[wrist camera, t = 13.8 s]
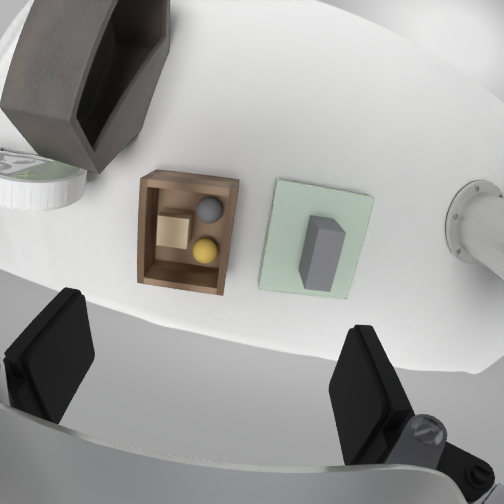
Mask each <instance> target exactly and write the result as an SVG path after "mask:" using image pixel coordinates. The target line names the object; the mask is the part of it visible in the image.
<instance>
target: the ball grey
mask: <svg viewBox="0 0 504 504" xmlns="http://www.w3.org/2000/svg"><path fill="white" fill-rule="evenodd" d="M196 212H197V216H198V217H199V219H200V220H201V221H203V222H205V223H209V224H210V223H215V222H217V221H218V220H219V219H220V218H221V216H222V214H223V206H222V204H221V202H220V201H219V200H218V199H216V198H214V197H206V198H203V199H202V200H201V201H200V202H199V203H198V205H197V209H196Z"/></svg>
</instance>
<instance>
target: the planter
mask: <svg viewBox="0 0 504 504" xmlns="http://www.w3.org/2000/svg"><path fill="white" fill-rule="evenodd" d="M169 18H170V0H34V3H33V5H32V7H31V9H30V12H29V14H28V17H27V19H26V21H25V24H24V27H23V29H22V32H21V34H20V37H19V40H18V43H17V46H16V48H15V51H14V54H13V58H12V61H11V64H10V67H9V71H8V74H7V78H6V81H5V85H4V89H3V93H2V97H1V101H0V108H1V109H2V111H3V112H4V113H5V114H6V116H7V117H8V118H9V120H10V121H11V122H12V123H13V125H14V126H15V127H16V128H17V130H18V131H19V132H20V133H21V134H22V136H23V137H24V138H25V139H26V140H27V142H28V143H29V144H30V145H31V146H32V148H33V149H34V150H35V151H36V152H37V153H38V155H39V156H42V157H45V158H49V159H52V160H55V161H59V162H62V163H65V164H68V165H72V166H75V167H78V168H81V169H85V170H88V171H91V172H94V173H97V174H100V173H101V172H102V171H103V169H104V168H105V167H106V166H107V165H108V164H109V163H110V162H111V161H112V160H113V159H114V157H115V156H116V155H117V154H118V153H119V152H120V151H121V150H122V149H123V148H124V147H125V146H126V145H127V144H128V143H129V142H130V141H131V140H132V139H133V138H134V137H135V136H136V135H137V134H138V133H139V132H140V130H141V128H142V125H143V122H144V119H145V116H146V113H147V110H148V107H149V104H150V101H151V98H152V95H153V93H154V90H155V87H156V84H157V81H158V79H159V76H160V73H161V71H162V68H163V66H164V63H165V60H166V58H167V55H168V53H169Z"/></svg>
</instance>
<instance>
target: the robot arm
mask: <svg viewBox="0 0 504 504" xmlns="http://www.w3.org/2000/svg"><path fill="white" fill-rule="evenodd" d="M446 238H447V242H448V246H449V248H450V250H451V251H452V253H453V254H454V255H455V256H456V257H457V258H459V259H460V260H462V261H464V262H467V263H476V262H479V261H480V262H481V263H482V264H484V265H485V266H486V267H488V268H489V269H490V270H491V271H493V272H494V273H495V274H497V275H498V276H499V277H500V278H502V279H503V280H504V195H503V193H502V192H501V190H500V189H499V188H498V187H497V186H496V185H494V184H492V183H490V182H488V181H482V180H479V181H474V182H472V183H469V184H468V185H466V186H465V187H464V188H463V189H462V190H461V191H460V192H459V193H458V194H457V196H456V197H455V199H454V200H453V202H452V205H451V207H450V209H449V212H448V216H447V221H446ZM4 354H5V356H6V357H5V358H4V359H3V360H2V359H1V358H0V504H504V486H503V485H502V484H501V483H500V482H499V483H498V484H497V485H496V484H495V483H494V480H495V476H494V472H493V469H492V468H491V467H490V465H489V464H488V463H486V462H485V461H483V460H481V459H479V458H477V457H475V456H473V455H471V454H470V453H468V452H466V451H464V450H462V449H460V448H458V447H456V446H454V445H452V444H450V443H448V442H446V440H447V431H446V428H445V426H444V425H443V423H442V422H441V421H440V420H438V419H436V418H435V417H434V416H431V415H428V414H419V415H415V414H414V411H413V409H412V407H411V405H410V402H409V400H408V398H407V396H406V393H405V391H404V389H403V387H402V385H401V382H400V380H399V378H398V376H397V374H396V372H395V370H394V367H393V366H392V364H391V363H390V361H389V359H388V357H387V355H386V353H385V351H384V349H383V347H382V345H381V343H380V341H379V339H378V337H377V335H376V332H375V330H374V329H373V327H372V326H371V325H355V326H354V328H350V329H349V331H348V334H347V336H346V339H345V342H344V345H343V348H342V351H341V354H340V356H339V359H338V362H337V365H336V367H335V370H334V373H333V375H332V378H331V381H330V384H329V394H330V399H331V403H332V408H333V412H334V417H335V421H336V426H337V431H338V435H339V440H340V445H341V449H342V454H343V459H344V463H345V466H315V467H314V466H300V467H299V466H297V467H296V466H263V465H247V464H236V463H225V462H216V461H208V460H201V459H194V458H187V457H181V456H175V455H169V454H164V453H159V452H154V451H149V450H145V449H140V448H136V447H131V446H127V445H124V444H120V443H116V442H112V441H108V440H104V439H101V438H97V437H94V436H91V435H87V434H84V433H81V432H78V431H75V430H72V429H69V428H66V427H63V426H60V425H58V424H59V422H60V420H61V419H62V417H63V415H64V413H65V411H66V409H67V407H68V405H69V403H70V402H71V400H72V398H73V396H74V394H75V393H76V391H77V389H78V387H79V385H80V384H81V382H82V380H83V378H84V377H85V375H86V373H87V371H88V370H89V368H90V366H91V364H92V363H93V361H94V357H95V352H94V347H93V342H92V337H91V331H90V326H89V320H88V314H87V308H86V301H85V297H84V295H82V294H81V292H80V290H77V289H72V288H67V287H65V288H64V289H62V290H61V292H60V293H59V294H58V295H57V296H56V297H55V298H54V299H53V300H52V301H51V302H50V303H49V304H48V305H47V306H46V307H45V308H44V309H43V310H42V311H41V312H40V313H39V315H38V316H37V317H36V318H35V319H34V320H33V321H32V322H31V323H30V324H29V325H28V327H27V328H26V329H25V330H24V331H23V332H22V333H21V334H20V335H19V337H18V338H17V339H16V340H15V341H14V342H13V343H12V345H11V346H10V347H9V348H8V349H7V350H6V352H5V353H4Z"/></svg>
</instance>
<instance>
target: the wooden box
mask: <svg viewBox="0 0 504 504" xmlns="http://www.w3.org/2000/svg"><path fill="white" fill-rule="evenodd" d="M238 185H239V180H238V179H231V178H223V177H215V176H207V175H199V174H191V173H182V172H173V171H163V170H155V171H153V172H151V173H149V174H147V175H146V176H144V177H142V178H140V192H139V211H138V242H137V283H142V284H148V285H154V286H160V287H167V288H173V289H180V290H187V291H194V292H200V293H208V294H215V295H222V296H223V293H224V286H225V278H226V271H227V264H228V256H229V249H230V242H231V234H232V227H233V220H234V213H235V206H236V199H237V192H238ZM206 197H214V198H216V199H218V200H219V201H220V202H221V204H222V206H223V214H222V216H221V218H220V219H219V220H218V221H217V222H215V223H210V224H209V223H205V222H203V221H201V220H200V219H199V217H198V216H197V212H196V209H197V205H198V203H199V202H200V201H201V200H202V199H203V198H206ZM165 207H168V208H176V209H184V210H192V211H194V217H193V228H192V238H191V241H190V243H189V245H188V247H187V249H181V248H174V247H167V246H159V245H156V243H157V223H158V215H159V214H160V213H161V212H162V211H163V209H164V208H165ZM203 238H208V239H211V240H212V241H214V242H215V244H216V245H217V248H218V254H217V257H216V258H215V260H214V261H212V262H211V263H208V264H203V263H200V262H198V261H197V260H196V259H195V258H194V256H193V252H192V250H193V246H194V244H195V243H196V242H197V241H198V240H200V239H203Z"/></svg>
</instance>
